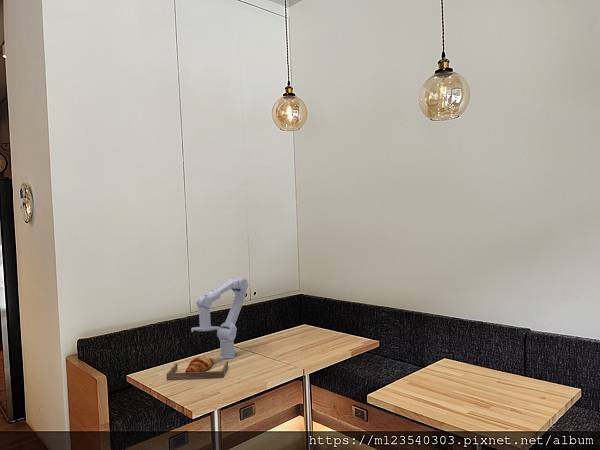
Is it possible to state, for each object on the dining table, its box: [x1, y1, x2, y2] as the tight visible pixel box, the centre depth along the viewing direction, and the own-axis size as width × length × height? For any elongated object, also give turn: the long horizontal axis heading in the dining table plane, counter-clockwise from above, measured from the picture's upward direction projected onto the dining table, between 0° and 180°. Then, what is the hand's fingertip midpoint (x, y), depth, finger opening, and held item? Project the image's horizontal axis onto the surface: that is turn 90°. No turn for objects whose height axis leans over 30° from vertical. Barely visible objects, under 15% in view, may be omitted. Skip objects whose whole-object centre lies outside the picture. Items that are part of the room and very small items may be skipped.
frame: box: [166, 360, 229, 381], centre depth 219 cm, size 16×27×3 cm, turn 90°
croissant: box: [184, 356, 215, 373], centre depth 226 cm, size 21×10×8 cm, turn 154°
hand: (206, 344), depth 234 cm, fingers open, 7 cm apart
